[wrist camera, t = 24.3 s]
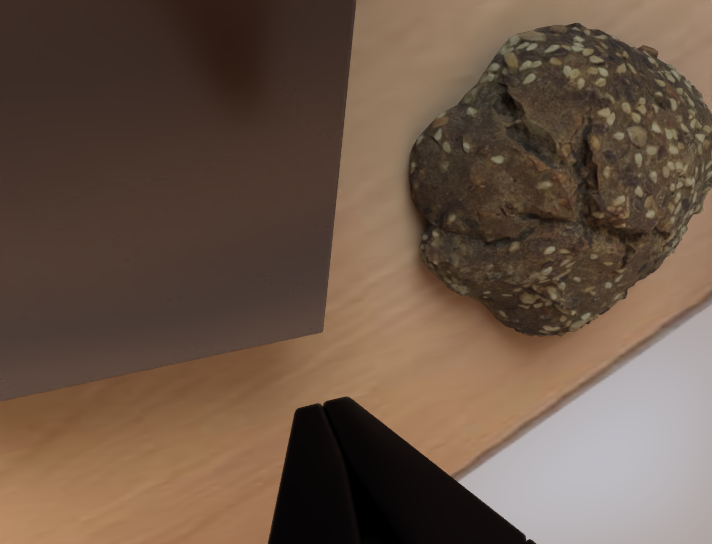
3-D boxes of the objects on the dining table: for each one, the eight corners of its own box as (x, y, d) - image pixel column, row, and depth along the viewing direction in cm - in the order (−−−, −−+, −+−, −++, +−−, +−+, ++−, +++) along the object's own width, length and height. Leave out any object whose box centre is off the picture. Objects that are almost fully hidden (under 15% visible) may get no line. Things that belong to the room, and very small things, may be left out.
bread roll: (711, 135, 23) (829, 162, 19) (542, 343, 26) (613, 408, 22) (539, -62, 17) (656, -85, 13) (344, 238, 20) (387, 299, 16)
